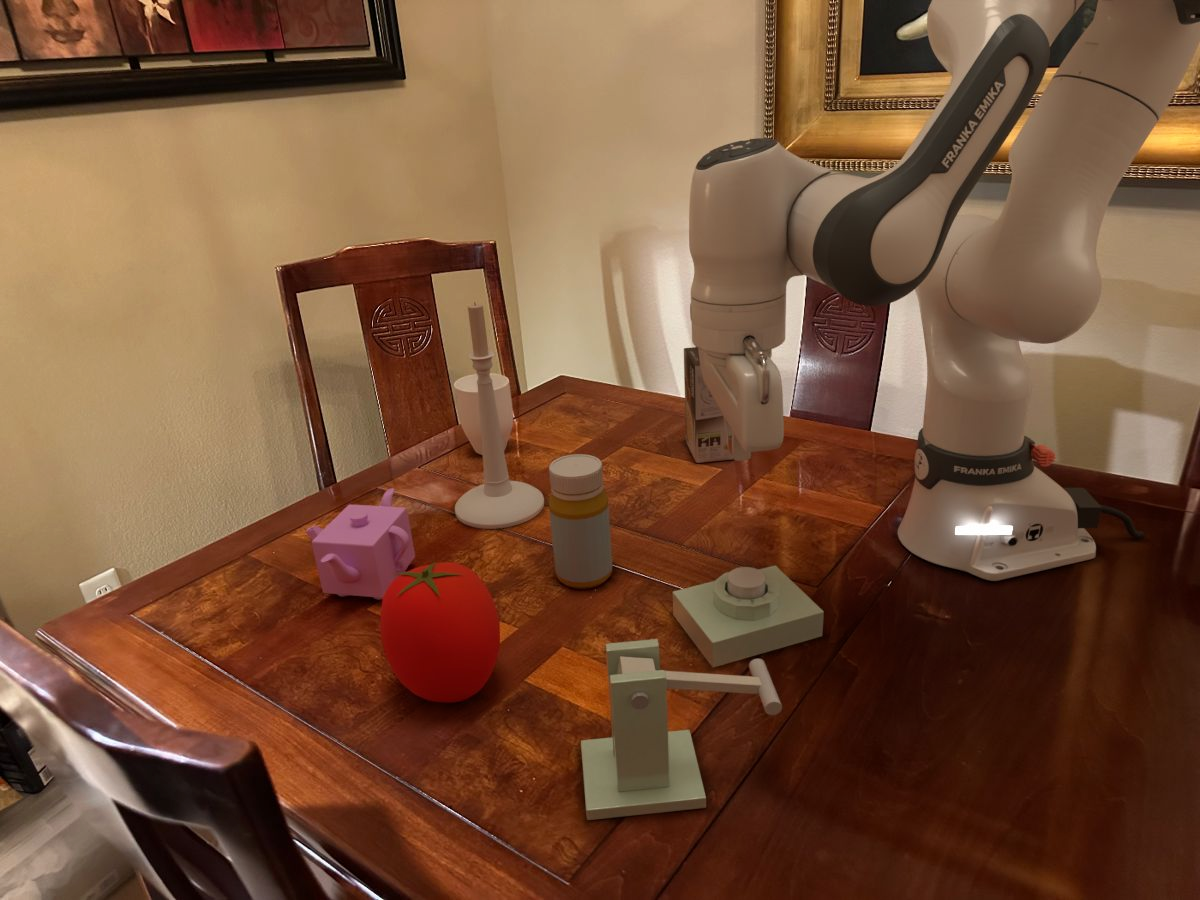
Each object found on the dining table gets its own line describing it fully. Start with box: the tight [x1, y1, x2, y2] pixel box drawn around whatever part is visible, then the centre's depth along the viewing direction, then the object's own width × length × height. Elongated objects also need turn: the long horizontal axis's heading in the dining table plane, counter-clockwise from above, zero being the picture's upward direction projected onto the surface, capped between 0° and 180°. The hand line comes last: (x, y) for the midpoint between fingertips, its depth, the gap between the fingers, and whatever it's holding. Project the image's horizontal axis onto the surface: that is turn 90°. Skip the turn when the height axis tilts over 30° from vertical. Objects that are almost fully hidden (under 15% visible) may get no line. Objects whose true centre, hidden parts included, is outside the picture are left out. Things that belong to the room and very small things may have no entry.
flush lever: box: [617, 656, 783, 716], centre depth 70 cm, size 13×6×2 cm, turn 94°
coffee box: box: [683, 346, 734, 464], centre depth 131 cm, size 9×6×16 cm
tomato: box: [379, 561, 501, 704], centre depth 83 cm, size 13×11×14 cm
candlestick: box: [454, 301, 545, 530], centre depth 115 cm, size 13×13×30 cm
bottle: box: [548, 453, 613, 590], centre depth 100 cm, size 7×7×15 cm
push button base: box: [672, 565, 825, 668], centre depth 91 cm, size 13×10×5 cm
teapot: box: [305, 487, 416, 600], centre depth 103 cm, size 18×13×10 cm
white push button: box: [727, 566, 766, 600], centre depth 90 cm, size 4×4×2 cm
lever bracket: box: [580, 638, 707, 821], centre depth 71 cm, size 10×8×13 cm
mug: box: [453, 372, 514, 456], centre depth 138 cm, size 12×9×12 cm
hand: (738, 455), depth 85 cm, fingers closed
